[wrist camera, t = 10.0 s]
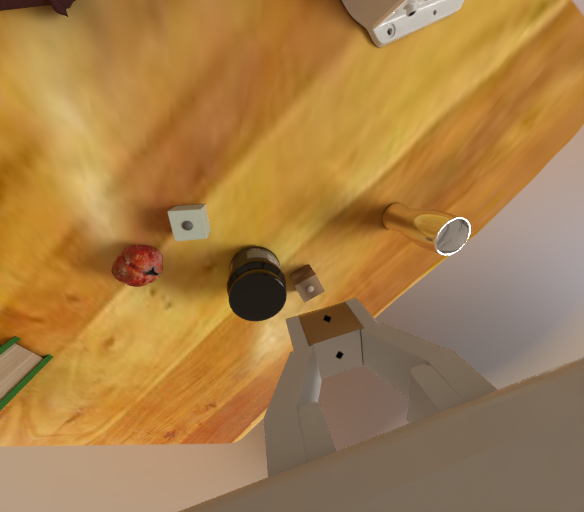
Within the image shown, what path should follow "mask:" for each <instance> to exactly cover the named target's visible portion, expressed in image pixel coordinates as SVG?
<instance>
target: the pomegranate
mask: <svg viewBox="0 0 584 512" xmlns="http://www.w3.org/2000/svg"><path fill="white" fill-rule="evenodd" d="M162 263H163V256H162V255H161V253H160V252H159V251H158V250H157V249H156V248H154V247H152V246H147V245H138V246H136V245H132V246H129V247H128V248H126V249H125V251H124V252H123V253H121V254H120V255H119V256H118V258H117V259H116V261H115V262H114V264H113V266H112V274H113V276H114V277H115V278H116V279H117V280H119V281H121V282H123V283H125V284H127V285H129V286H135V287H140V286H144V285H146V284H148V283H151V282H153V281H155V280H156V279H157V278H158V277H159V276H160V275H161V273H162V270H163V266H162Z"/></svg>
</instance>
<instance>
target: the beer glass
mask: <svg viewBox="0 0 584 512" xmlns="http://www.w3.org/2000/svg"><path fill="white" fill-rule="evenodd" d="M382 222H383V225H384V226H385V227H386V228H387V229H389V230H395V231H398V232H400V233H401V234H403V235H404V236H405V237H407V238H408V239H409V240H410V241H412V242H413V243H415V244H416V245H418V246H420V247H422V248H425V249H427V250H430V251H432V252H435V253H438V254H440V255H443V256H448V255H452V254H454V253H456V252H457V251H459V250H460V249H461V248H462V247H463V246H464V245H465V243H466V242H467V240H468V238H469V236H470V231H471V227H470V223H469V221H468V220H467V219H465V218H462V217H459V216H456V215H453V214H450V213H447V212H444V211H439V210H434V209H416V208H409V207H407V206H406V205H404V204H402V203H394V204H392V205H390V206H389V207H388V208H387V209H386V210H385V212H384V214H383V218H382Z"/></svg>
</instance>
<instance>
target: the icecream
mask: <svg viewBox="0 0 584 512" xmlns="http://www.w3.org/2000/svg"><path fill="white" fill-rule="evenodd" d="M73 1H75V0H0V11H1V10H10V9H19V8H28V7H37V6H46V5H52V7H53V8H54V10H55V11H56V12H57V13H59V14H61V15H65V16H67V17H68V15H67V12H66V9H67V8H70V7H71V5H72V3H73Z"/></svg>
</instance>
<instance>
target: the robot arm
mask: <svg viewBox="0 0 584 512" xmlns="http://www.w3.org/2000/svg"><path fill="white" fill-rule="evenodd" d="M342 2H343V4H344V6H345V8H346V9H347V11H348V12H349V14H350V15H351V16H352V17H353V18H354V19H355V20H356V21H357V22H358V23H360V24H361V25H362V26H363V27H365V28H366V30H367V31H368V33H369V35H370V37H371V39H372V41H373V42H374V44H375V45H376V46H377V47H383V46H385V45H387V44H389V43H392V42H394V41H396V40H398V39H400V38H402V37H405V36H407V35H409V34H411V33H413V32H416V31H418V30H420V29H422V28H424V27H426V26H429V25H431V24H433V23H435V22H437V21H440V20H442V19H444V18H446V17H448V16H450V15H452V14H454V13H455V12H456V11H458V10H459V9H460V8H461V6H462V4H463V2H464V0H342ZM387 31H389V33H390V35H388V33H387ZM286 323H287V327H288V330H289V334H290V338H291V342H292V345H293V349H294V351H293V352H290V354H289V357H288V359H287V362H286V364H285V367H284V369H283V372H282V374H281V377H280V379H279V382H278V384H277V387H276V389H275V392H274V394H273V396H272V399H271V401H270V404H269V406H268V409H267V411H266V414H265V416H264V427H265V428H264V429H265V442H266V455H267V469H268V478H265V479H263V480H260V481H258V482H255V483H252V484H250V485H247V486H245V487H242V488H239V489H237V490H234V491H231V492H229V493H226V494H224V495H221V496H218V497H216V498H213V499H211V500H208V501H205V502H202V503H200V504H197V505H195V506H192V507H190V508H187V509H184V510H182V511H179V512H584V357H582V358H579V359H577V360H574V361H572V362H569V363H566V364H564V365H561V366H559V367H556V368H553V369H551V370H548V371H546V372H543V373H540V374H538V375H535V376H532V377H530V378H527V379H525V380H522V381H519V382H517V383H514V384H511V385H509V386H506V387H504V388H501V389H498V390H497V389H496V388H495V387H494V386H493V385H492V384H491V383H489V382H488V381H487V380H486V379H485V378H484V377H483V376H482V375H481V374H479V373H478V372H477V371H476V370H475V369H474V368H473V367H472V366H470V365H469V364H468V363H467V362H466V361H465V360H464V359H463V358H461V357H460V356H459V355H458V354H457V353H456V352H454V351H452V350H450V349H447V348H445V347H442V346H440V345H437V344H434V343H432V342H429V341H427V340H424V339H422V338H419V337H417V336H414V335H412V334H409V333H407V332H404V331H402V330H399V329H397V328H394V327H392V326H389V325H387V324H384V323H380V324H378V323H377V321H376V320H375V319H374V318H373V317H372V316H371V314H370V313H369V312H368V311H367V310H366V308H365V307H364V306H363V305H362V304H361V303H360V301H359V300H358V299H357V298H353V299H350V300H347V301H344V302H341V303H338V304H335V305H332V306H328V307H325V308H322V309H319V310H315V311H311V312H308V313H304V314H301V315H298V316H294V317H291V318H287V319H286ZM362 365H364V367H366V368H367V369H368V370H370V371H371V372H372V373H374V374H375V375H377V376H378V377H380V378H381V379H382V380H384V381H385V382H387V383H388V384H389V385H391V386H392V387H394V388H395V389H397V390H398V391H399V392H401V393H402V394H404V395H405V396H407V397H408V398H409V401H408V414H407V420H408V422H409V424H407V425H404V426H401V427H399V428H396V429H393V430H391V431H389V432H386V433H383V434H380V435H378V436H375V437H372V438H370V439H367V440H365V441H362V442H360V443H357V444H354V445H352V446H349V447H347V448H344V449H341V450H339V451H336V448H335V446H334V442H333V439H332V436H331V433H330V430H329V427H328V425H327V421H326V418H325V415H324V412H323V409H322V406H321V405H320V404H318V398H319V392H320V387H321V380H322V379H324V378H326V377H329V376H332V375H335V374H337V373H340V372H343V371H346V370H349V369H353V368H356V367H359V366H362Z"/></svg>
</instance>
